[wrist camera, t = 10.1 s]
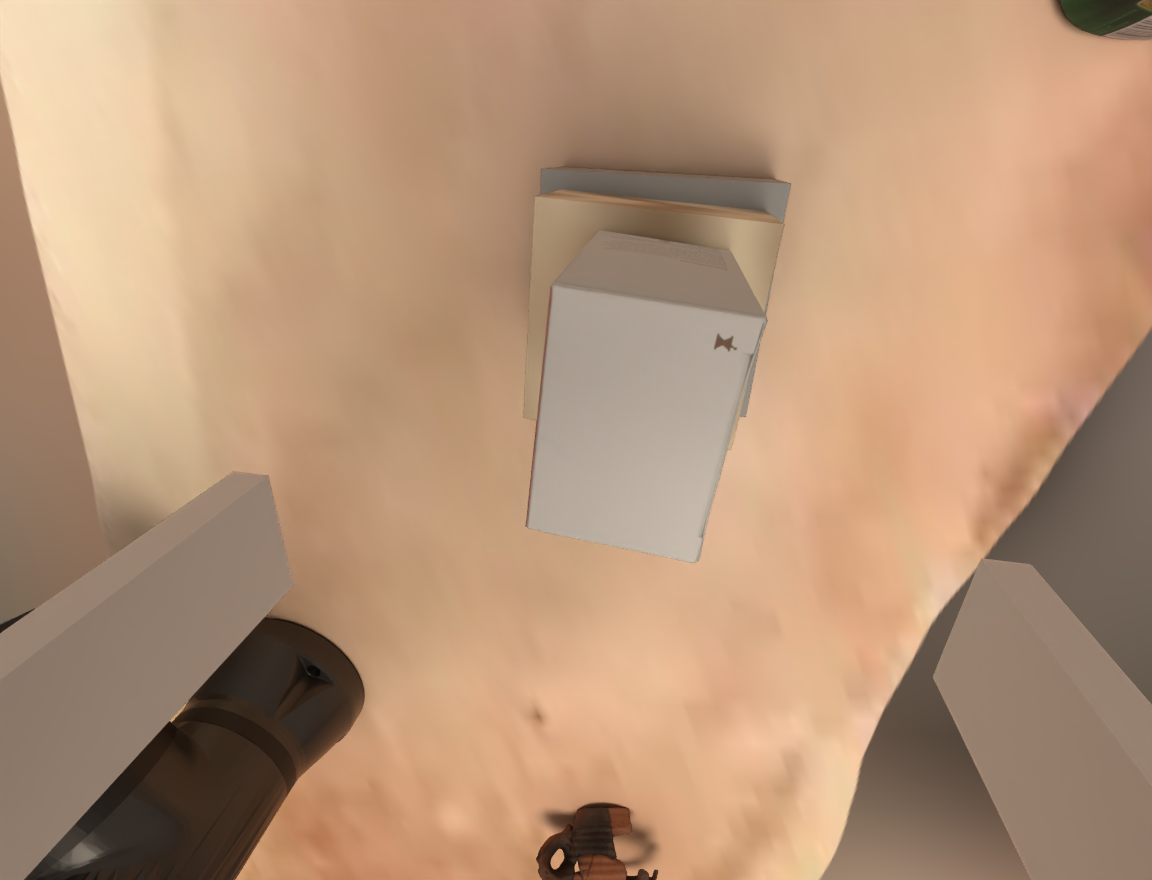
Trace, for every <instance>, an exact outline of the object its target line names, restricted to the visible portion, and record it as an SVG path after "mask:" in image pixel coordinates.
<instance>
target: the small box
mask: <svg viewBox="0 0 1152 880" xmlns="http://www.w3.org/2000/svg"><path fill="white" fill-rule="evenodd" d="M766 323H767V317H766V315H765V313H764V312H763V310H762V308H761V306H760V304H759V302H758V300H757V298H756V297H755V295H754V293H753V291H752V289H751V287H750V285H749V283H748V282H747V280H746V278H745V276H744V274H743V272H742V270H741V268H740V267H739V265H738V263H737V261H736V259H735V258H734V256H733V254H732V252H731V251H730V250H722V249H715V248H709V247H703V246H697V245H691V244H684V243H678V242H672V241H666V240H659V239H653V238H647V237H641V236H635V235H628V234H622V233H615V232H609V231H603V230H599V231H598V232H597V233H596V234H595V235H594V236H593V237H592V239H591V240H590V241H589V242H588V243H587V244H586V245H585V247H584V248H583V249H582V250H581V251H580V252H579V253H578V255H577V256H576V257H575V258H574V259H573V260H572V261H571V263H570V264H569V265H568V266H567V267H566V268H565V269H564V271H563V272H562V273H561V274H560V275H559V276H558V277H557V279H556V280H555V281H554V282H553V283H552V284H551V286H550V297H549V306H548V316H547V326H546V336H545V345H544V355H543V364H542V374H541V383H540V393H539V403H538V413H537V422H536V432H535V442H534V451H533V461H532V471H531V480H530V489H529V500H528V511H527V519H526V527H527V528H528V529H533V530H537V531H542V532H546V533H550V534H555V535H560V536H564V537H569V538H574V539H579V540H584V541H589V542H594V543H598V544H603V545H608V546H613V547H618V548H623V549H628V550H633V551H638V552H643V553H647V554H652V555H657V556H662V557H667V558H672V559H676V560H681V561H685V562H690V563H696V562H698V561H699V558H700V555H701V549H702V544H703V540H704V535H705V530H706V526H707V522H708V518H709V514H710V510H711V506H712V503H713V499H714V496H715V492H716V488H717V485H718V481H719V478H720V474H721V471H722V467H723V463H724V460H725V456H726V452H727V449H728V445H729V441H730V438H731V435H732V431H733V428H734V424H735V421H736V417H737V414H738V410H739V407H740V403H741V400H742V396H743V393H744V390H745V386H746V383H747V380H748V377H749V373H750V370H751V367H752V364H753V361H754V358H755V355H756V353H757V350H758V347H759V344H760V341H761V338H762V335H763V332H764V329H765V326H766Z"/></svg>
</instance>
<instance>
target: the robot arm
mask: <svg viewBox="0 0 1152 880" xmlns="http://www.w3.org/2000/svg"><path fill="white" fill-rule="evenodd" d="M292 587H293V582H292V577H291V573H290V568H289V564H288V559H287V555H286V551H285V546H284V542H283V537H282V533H281V529H280V524H279V520H278V515H277V511H276V506H275V502H274V498H273V493H272V489H271V484H270V480H269V476H267V475H258V474H250V473H241V472H232V473H231V474H229V475H228V476H226V477H225V478H224V479H222V480H221V481H219V482H218V483H216V484H215V485H213V486H212V487H211V488H209V489H208V490H206V491H205V492H203V493H202V494H200V495H199V496H198V497H196V498H195V499H193V500H192V501H190V502H189V503H187V504H186V505H185V506H183V507H182V508H180V509H179V510H177V511H176V512H174V513H173V514H172V515H170V516H169V517H167V518H166V519H164V520H163V521H161V522H160V523H159V524H157V525H156V526H154V527H153V528H151V529H150V530H148V531H147V532H146V533H144V534H143V535H141V536H140V537H138V538H137V539H135V540H134V541H133V542H131V543H130V544H128V545H127V546H125V547H124V548H123V549H121V550H120V551H118V552H117V553H115V554H114V555H112V556H111V557H110V558H108V559H107V560H105V561H104V562H102V563H101V564H99V565H98V566H97V567H95V568H94V569H92V570H91V571H89V572H88V573H87V574H85V575H84V576H82V577H81V578H79V579H78V580H76V581H75V582H73V583H72V584H71V585H69V586H68V587H66V588H65V589H63V590H62V591H60V592H59V593H58V594H56V595H55V596H53V597H52V598H50V599H49V600H47V601H46V602H45V603H43V604H42V605H40V606H39V607H37V608H36V609H33V610H31V611H28V612H26V613H24V614H22V615H20V616H18V617H16V618H13V619H10V620H7V621H4V622H2V623H0V880H235V879H236V878H237V876H238V875H239V873H240V871H241V870H242V868H243V866H244V865H245V863H246V862H247V860H248V858H249V857H250V855H251V853H252V852H253V850H254V849H255V847H256V845H257V844H258V842H259V841H260V839H261V837H262V836H263V834H264V832H265V831H266V829H267V828H268V826H269V824H270V823H271V821H272V819H273V818H274V816H275V815H276V813H277V811H278V810H279V808H280V807H281V805H282V803H283V802H284V800H285V798H286V797H287V795H288V794H289V792H290V790H291V789H292V787H293V786H294V784H295V783H296V781H297V780H298V778H299V777H300V776H301V775H302V774H304V773H305V772H306V771H307V770H308V769H309V768H310V767H311V766H312V765H313V764H315V763H316V762H317V761H318V760H319V759H320V758H321V757H322V756H323V755H324V754H325V753H327V752H328V751H329V750H330V749H331V748H332V747H333V746H334V745H335V744H336V743H337V742H339V741H340V740H341V739H342V738H343V737H344V736H345V735H346V734H347V733H348V732H349V730H350V729H351V727H352V725H353V724H354V722H355V720H356V719H357V717H358V715H359V714H360V712H361V710H362V707H363V703H364V691H363V686H362V683H361V680H360V678H359V676H358V674H357V672H356V670H355V669H354V667H353V666H352V664H351V663H350V662H349V660H348V659H347V658H346V657H345V656H344V655H343V654H342V653H341V652H340V651H339V650H338V649H337V648H336V647H335V646H333V645H332V644H331V643H329V642H328V641H327V640H325V639H324V638H322V637H321V636H319V635H317V634H316V633H314V632H312V631H310V630H308V629H306V628H303V627H301V626H298V625H296V624H292V623H289V622H285V621H280V620H274V619H263V618H264V617H265V616H266V615H267V614H268V613H269V612H270V611H271V609H272V608H273V607H274V606H275V605H276V604H277V603H278V602H279V601H280V600H281V599H282V597H283V596H284V595H285V594H286V593H287V592H288V591H289V590H290V589H291V588H292ZM933 678H934V680H935V682H936V684H937V686H938V688H939V690H940V692H941V694H942V697H943V699H944V701H945V703H946V705H947V707H948V709H949V711H950V713H951V715H952V717H953V719H954V721H955V723H956V726H957V728H958V730H959V731H960V734H961V736H962V738H963V740H964V742H965V744H966V746H967V748H968V750H969V752H970V754H971V757H972V758H973V761H974V763H975V765H976V767H977V769H978V771H979V773H980V775H981V777H982V779H983V781H984V783H985V785H986V788H987V790H988V792H989V794H990V796H991V798H992V800H993V802H994V804H995V806H996V808H997V810H998V812H999V814H1000V817H1001V819H1002V820H1003V823H1004V825H1005V827H1006V829H1007V831H1008V833H1009V835H1010V837H1011V839H1012V841H1013V843H1014V845H1015V847H1016V850H1017V852H1018V854H1019V855H1020V858H1021V860H1022V862H1023V864H1024V866H1025V868H1026V870H1027V872H1028V874H1029V877H1030V878H1031V880H1152V705H1151V704H1150V702H1149V701H1148V700H1147V699H1146V698H1145V696H1143V694H1142V693H1141V692H1140V691H1139V690H1138V688H1137V687H1136V686H1135V685H1134V684H1133V683H1132V682H1131V680H1130V679H1129V678H1128V677H1127V676H1126V674H1125V673H1124V672H1123V671H1122V670H1121V669H1120V667H1119V666H1118V665H1117V664H1116V663H1115V662H1114V660H1113V659H1112V658H1111V657H1110V656H1109V655H1108V653H1107V652H1106V651H1105V650H1104V649H1103V648H1102V646H1101V645H1100V644H1099V643H1098V642H1097V641H1096V640H1095V638H1094V637H1093V636H1092V635H1091V634H1090V633H1089V631H1088V630H1087V629H1086V628H1085V627H1084V626H1083V624H1082V623H1081V622H1080V621H1079V620H1078V619H1077V617H1076V616H1075V615H1074V614H1073V613H1072V612H1071V610H1070V609H1069V608H1068V607H1067V606H1066V605H1065V604H1064V602H1063V601H1062V600H1061V599H1060V598H1059V597H1058V595H1057V594H1056V593H1055V592H1054V591H1053V590H1052V588H1051V587H1050V586H1049V585H1048V584H1047V583H1046V581H1045V580H1044V579H1043V578H1042V577H1041V576H1040V575H1039V573H1038V572H1037V571H1036V570H1035V569H1034V567H1033V566H1032V565H1031V564H1024V563H1015V562H1006V561H998V560H989V559H981V561H980V563H979V566H978V568H977V570H976V573H975V575H974V578H973V580H972V583H971V585H970V588H969V590H968V592H967V595H966V597H965V600H964V602H963V605H962V607H961V610H960V612H959V614H958V617H957V619H956V622H955V624H954V627H953V629H952V632H951V634H950V636H949V639H948V641H947V644H946V646H945V649H944V651H943V654H942V656H941V659H940V661H939V664H938V666H937V668H936V671H935V673H934V675H933ZM187 701H188V702H187ZM186 702H187V704H186V706H185V708H184V709H183V711H182V712H181V713H180V714H179V715H178V716H177V717H176V718H175V720H174V721H173V722H172V723H171V722H170V720H171V719H172V718H173V716H174V715H175V714H176V713H177V712H178V711H179V710H180V709H181V708H182V707H183V706H184V704H185V703H186Z"/></svg>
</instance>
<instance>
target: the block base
mask: <svg viewBox="0 0 1152 880" xmlns="http://www.w3.org/2000/svg"><path fill="white" fill-rule="evenodd" d="M790 186H791V184H790V183H787V182H783V181H780V180H776V179H764V178H747V177H729V176H712V175H695V174H678V173H660V172H643V171H626V170H609V169H591V168H574V167H557V168H546V169H541V195H543V194H547V193H550V192H554V191H558V190H562V189H565V190H575V191H584V192H593V193H602V194H611V195H621V196H630V197H639V198H648V199H657V200H667V201H676V202H685V203H694V204H704V205H713V206H722V207H731V208H740V209H750V210H759V211H767V212H768V213H770V214H771V215H772V216H774V217H775V218H777V219H778V220H779V221H781V222H782V223H783V222H784V217H785V212H786V207H787V202H788V197H789V191H790ZM775 264H776V262H775ZM774 269H775V267H774ZM773 274H774V271H773ZM772 279H773V275H772ZM772 279H771V284H772ZM771 284H770V288H769V292H768V296H767V301H766V305H765V309H764V313H765V315H766V310H767V305H768V300H769V295H770V289H771ZM759 346H760V344H759ZM758 351H759V347H758V350H757V353H756V355H755V358H754V361H753V364H752V367H751V370H750V373H749V377H748V382H747V386H746V390H745V394H744V399H743V403H742V407H741V411H740V417H746V413H747V408H748V403H749V398H750V393H751V387H752V382H753V377H754V372H755V367H756V362H757V356H758Z"/></svg>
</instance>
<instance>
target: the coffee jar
mask: <svg viewBox="0 0 1152 880" xmlns="http://www.w3.org/2000/svg"><path fill="white" fill-rule="evenodd" d="M1060 3H1061V8H1062V10H1063V11H1064V13H1065V15H1066V17H1067V18H1068V19H1069V20H1070V22H1071V23H1072V24H1074V25H1075V26H1076V27H1078V28H1080V29H1081V30H1083V31H1086V32H1089V33H1092V34H1095V35H1100V36H1104V37H1110V38H1116V39H1126V40H1150V39H1152V0H1060Z"/></svg>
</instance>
